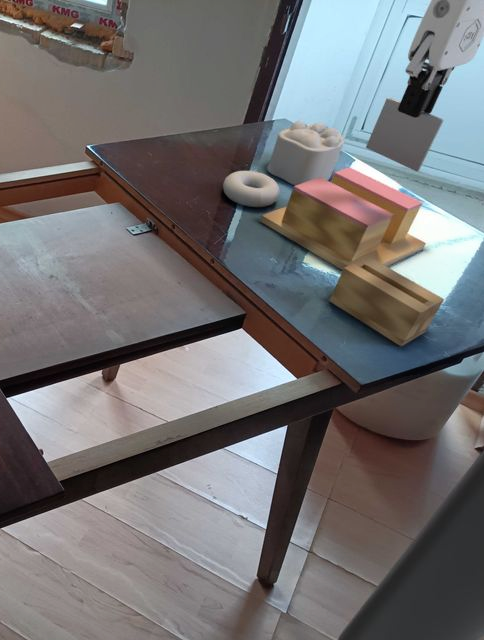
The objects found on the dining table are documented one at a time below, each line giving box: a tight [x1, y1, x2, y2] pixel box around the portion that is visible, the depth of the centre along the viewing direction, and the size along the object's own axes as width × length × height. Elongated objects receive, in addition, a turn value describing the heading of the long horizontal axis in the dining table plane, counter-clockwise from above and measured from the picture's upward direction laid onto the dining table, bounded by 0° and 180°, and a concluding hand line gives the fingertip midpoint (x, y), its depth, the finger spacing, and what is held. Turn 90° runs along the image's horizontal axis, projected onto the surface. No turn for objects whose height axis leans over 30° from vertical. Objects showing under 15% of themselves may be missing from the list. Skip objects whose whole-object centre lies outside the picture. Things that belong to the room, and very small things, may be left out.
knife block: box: [328, 257, 445, 347], centre depth 98 cm, size 12×6×6 cm, turn 34°
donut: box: [222, 170, 281, 208], centre depth 124 cm, size 10×4×10 cm
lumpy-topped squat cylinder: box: [266, 120, 345, 186], centre depth 132 cm, size 10×13×9 cm
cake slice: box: [330, 166, 423, 244], centre depth 116 cm, size 14×4×7 cm, turn 34°
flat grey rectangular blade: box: [365, 69, 445, 173], centre depth 101 cm, size 9×2×13 cm, turn 34°
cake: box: [259, 177, 427, 271], centre depth 114 cm, size 20×18×8 cm
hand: (414, 111), depth 100 cm, fingers closed on flat grey rectangular blade, 2 cm apart
